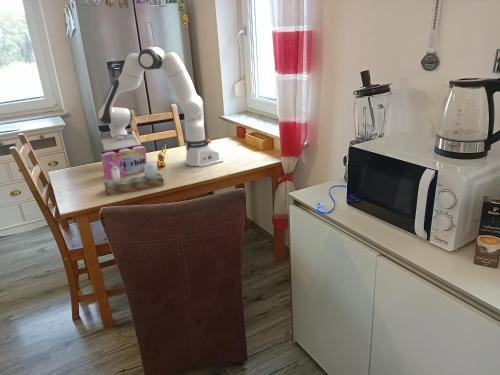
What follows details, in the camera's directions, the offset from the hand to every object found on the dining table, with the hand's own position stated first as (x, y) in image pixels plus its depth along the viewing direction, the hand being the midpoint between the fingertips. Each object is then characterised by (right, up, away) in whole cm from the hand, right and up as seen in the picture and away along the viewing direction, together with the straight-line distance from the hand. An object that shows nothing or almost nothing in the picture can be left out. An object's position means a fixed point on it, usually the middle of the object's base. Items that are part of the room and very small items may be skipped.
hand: (123, 156), depth 228 cm
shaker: (+7, -15, -31) cm, 35 cm away
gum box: (+3, -10, -5) cm, 11 cm away
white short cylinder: (+22, -12, -25) cm, 35 cm away
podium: (+14, -18, -26) cm, 35 cm away
